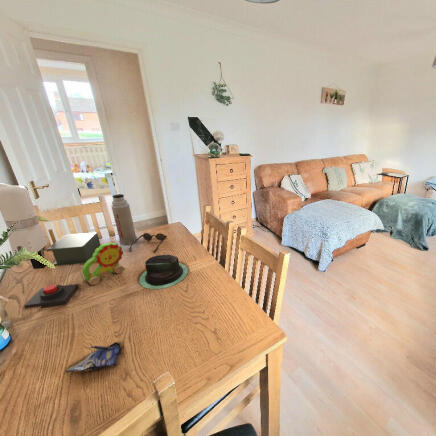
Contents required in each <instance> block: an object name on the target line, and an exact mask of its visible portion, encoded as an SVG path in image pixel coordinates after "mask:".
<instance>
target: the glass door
mask: <svg viewBox="0 0 436 436" xmlns="http://www.w3.org/2000/svg"><path fill="white" fill-rule="evenodd" d="M47 231H48V233H49V237H50V239H51V241H52V244H54V243H55V242H56V241H57V239H56V237H55V233H54V231H53V228H48V230H47Z"/></svg>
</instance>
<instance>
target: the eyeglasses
mask: <svg viewBox="0 0 436 436" xmlns="http://www.w3.org/2000/svg"><path fill="white" fill-rule="evenodd" d="M153 237H155V238H156V240H158V241H160V242H159V243H158V244H157V246H156V248H155V250H153V253H156V252H157V251H158V248H159V246H160V245H161V244H162V243H163V242H164V241H165V240H166V239H167V237H168V235H165V234H164V233H162V232H158V233H157V234H150V233H148V232H144V233H143V234H141V235H140V236H139V237H137V238H136V239H137V240H135V241H134V242H133V243H132V244H130V246H129V253H132V252H131V249H132V246H133V245H134V244H135V243H136V242H137V241H138V240H140V239H141V238H143V239H144V240H147V241H151V240H152V239H153Z"/></svg>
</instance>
